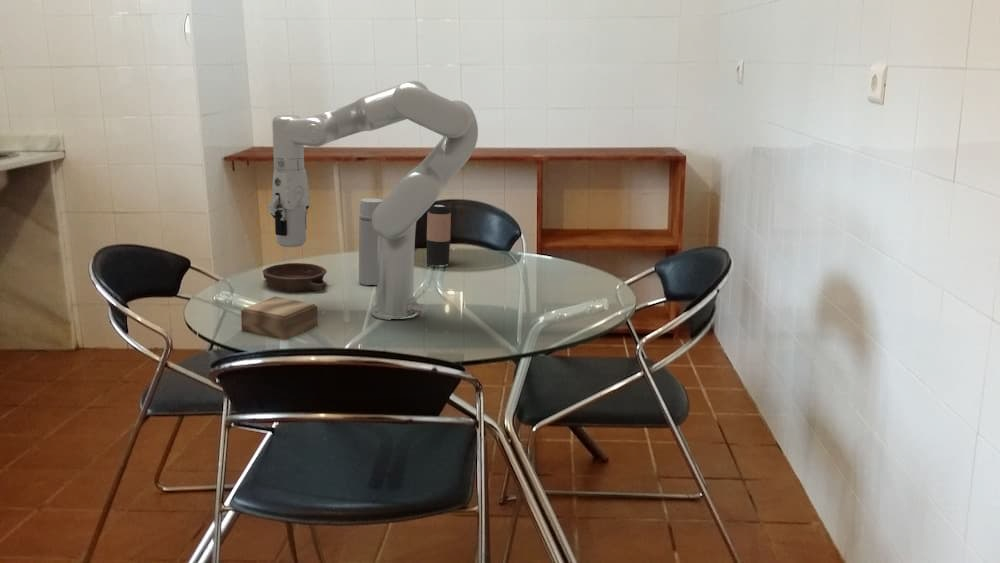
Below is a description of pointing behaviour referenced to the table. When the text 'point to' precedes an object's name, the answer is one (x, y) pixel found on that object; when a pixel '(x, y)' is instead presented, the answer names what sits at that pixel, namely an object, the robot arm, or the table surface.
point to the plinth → (279, 317)
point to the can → (294, 227)
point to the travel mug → (438, 233)
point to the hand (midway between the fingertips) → (291, 231)
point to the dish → (295, 277)
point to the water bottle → (368, 242)
